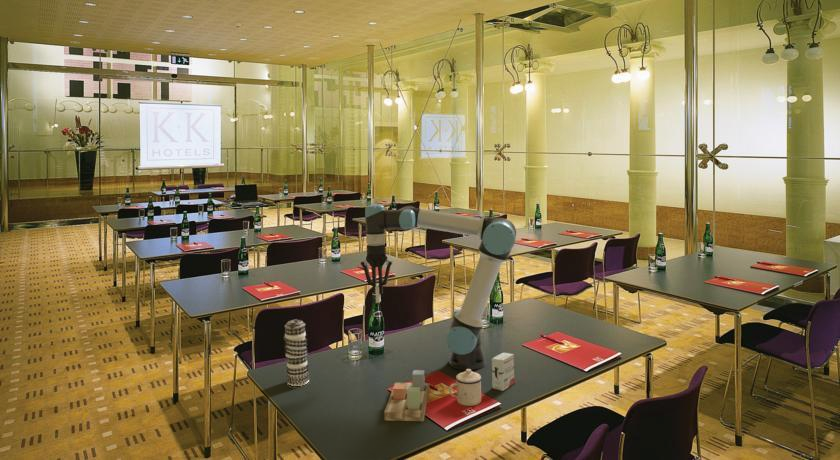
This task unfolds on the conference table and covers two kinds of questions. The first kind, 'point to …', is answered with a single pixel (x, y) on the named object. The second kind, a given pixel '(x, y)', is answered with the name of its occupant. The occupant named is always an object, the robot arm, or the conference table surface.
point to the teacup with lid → (467, 388)
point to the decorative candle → (296, 353)
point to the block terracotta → (399, 392)
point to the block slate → (419, 379)
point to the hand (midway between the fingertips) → (378, 301)
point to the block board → (399, 408)
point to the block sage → (413, 398)
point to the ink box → (502, 371)
